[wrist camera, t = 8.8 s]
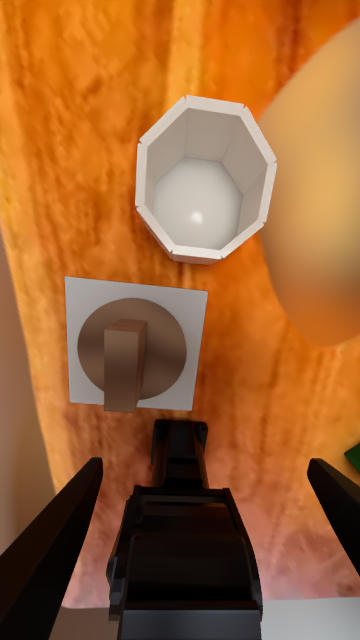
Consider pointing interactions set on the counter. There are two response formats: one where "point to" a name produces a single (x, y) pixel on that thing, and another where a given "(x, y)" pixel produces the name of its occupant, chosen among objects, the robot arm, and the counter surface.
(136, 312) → the lid
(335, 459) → the counter surface
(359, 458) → the milk carton
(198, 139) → the bowl
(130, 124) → the counter surface
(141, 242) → the counter surface
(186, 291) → the mat
